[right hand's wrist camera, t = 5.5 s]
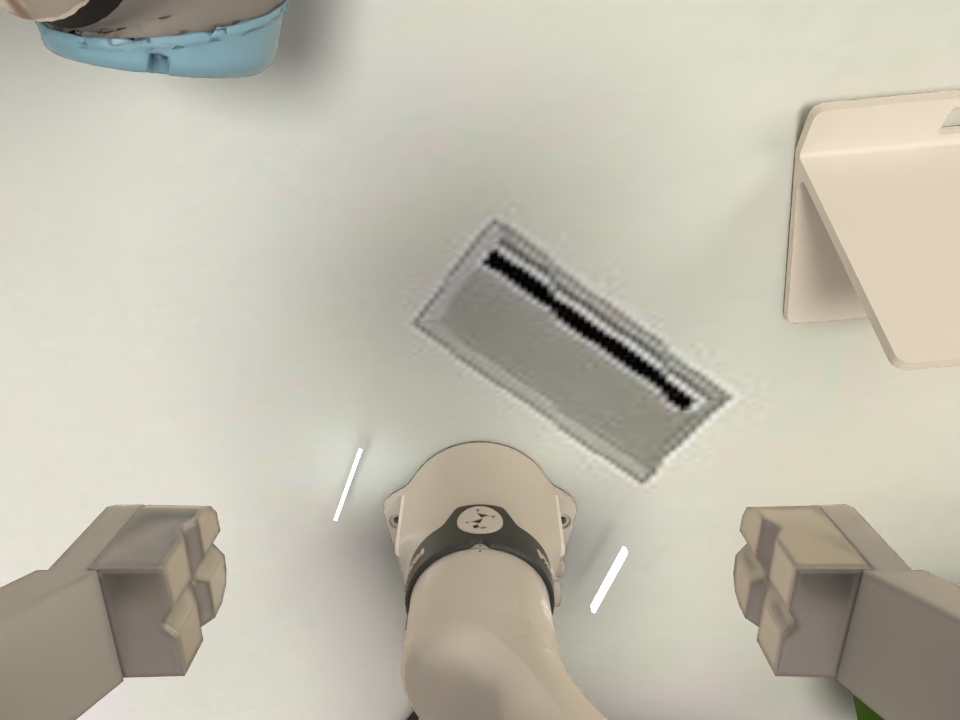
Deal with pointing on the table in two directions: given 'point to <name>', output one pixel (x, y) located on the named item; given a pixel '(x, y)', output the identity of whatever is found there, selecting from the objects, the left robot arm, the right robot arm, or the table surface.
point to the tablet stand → (880, 223)
